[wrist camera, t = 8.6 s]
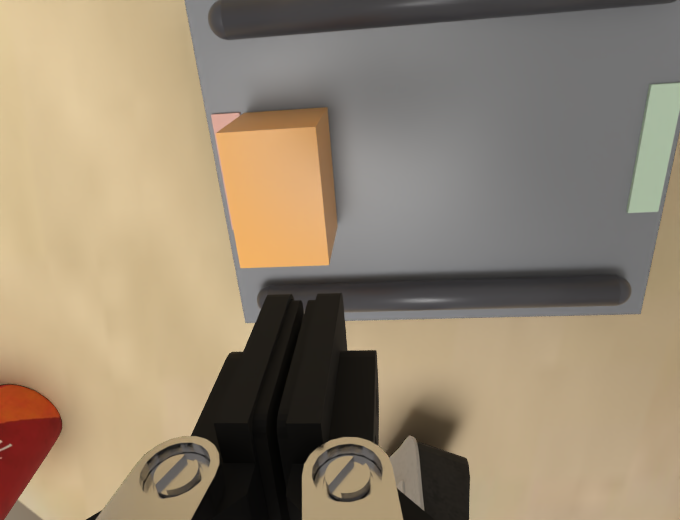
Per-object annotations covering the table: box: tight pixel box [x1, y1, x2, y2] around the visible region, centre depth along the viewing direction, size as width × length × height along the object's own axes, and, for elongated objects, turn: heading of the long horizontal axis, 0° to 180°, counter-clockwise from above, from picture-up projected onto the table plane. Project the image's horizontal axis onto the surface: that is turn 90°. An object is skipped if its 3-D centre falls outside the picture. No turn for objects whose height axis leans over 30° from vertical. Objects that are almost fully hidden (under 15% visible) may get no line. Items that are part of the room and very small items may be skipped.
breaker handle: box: [216, 107, 338, 268], centre depth 23 cm, size 4×6×4 cm, turn 5°
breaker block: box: [185, 0, 680, 323], centre depth 25 cm, size 22×18×4 cm
